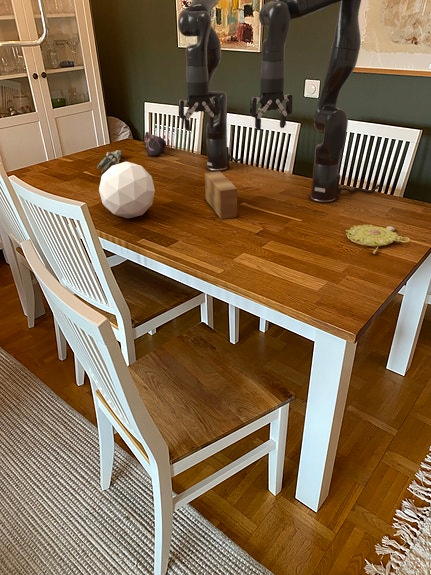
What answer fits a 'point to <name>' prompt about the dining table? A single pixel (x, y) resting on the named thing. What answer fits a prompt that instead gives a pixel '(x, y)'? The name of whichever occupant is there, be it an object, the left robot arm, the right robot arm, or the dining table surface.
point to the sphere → (127, 190)
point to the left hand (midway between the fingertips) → (199, 129)
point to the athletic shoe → (154, 144)
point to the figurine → (110, 160)
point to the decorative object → (374, 235)
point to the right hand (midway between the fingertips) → (270, 128)
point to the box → (221, 195)
